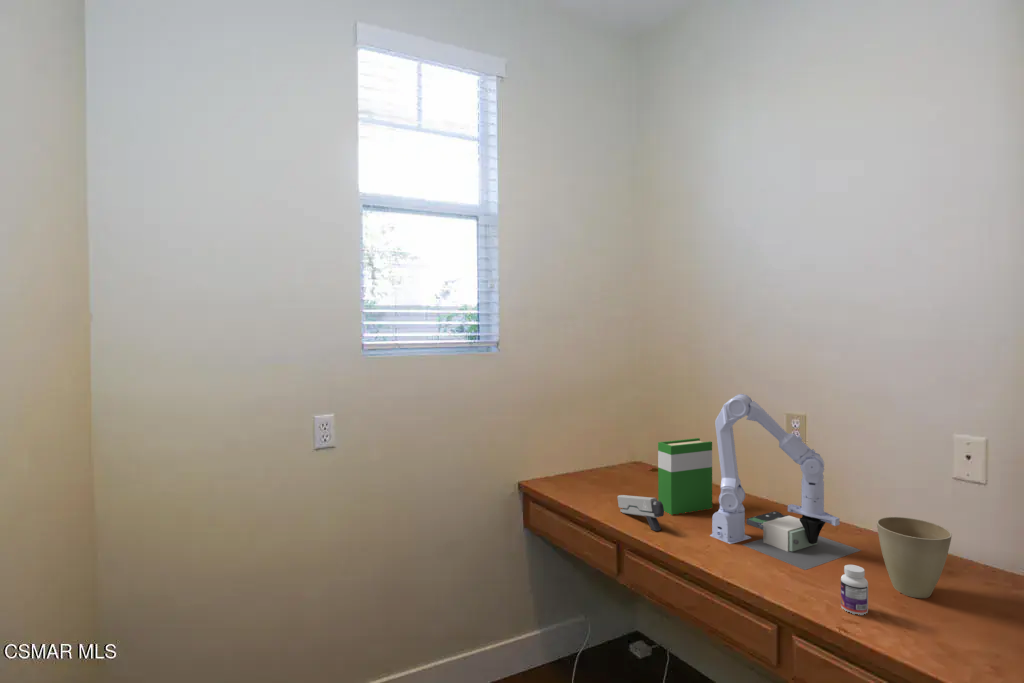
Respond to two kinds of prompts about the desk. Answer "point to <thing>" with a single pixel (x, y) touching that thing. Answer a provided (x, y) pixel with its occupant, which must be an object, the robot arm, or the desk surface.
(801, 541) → the cabinet door
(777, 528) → the cabinet
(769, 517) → the disk drive
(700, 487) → the hardback book
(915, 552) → the plant pot
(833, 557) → the mat
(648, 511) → the gun
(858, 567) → the pill bottle
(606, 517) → the desk surface
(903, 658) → the desk surface
